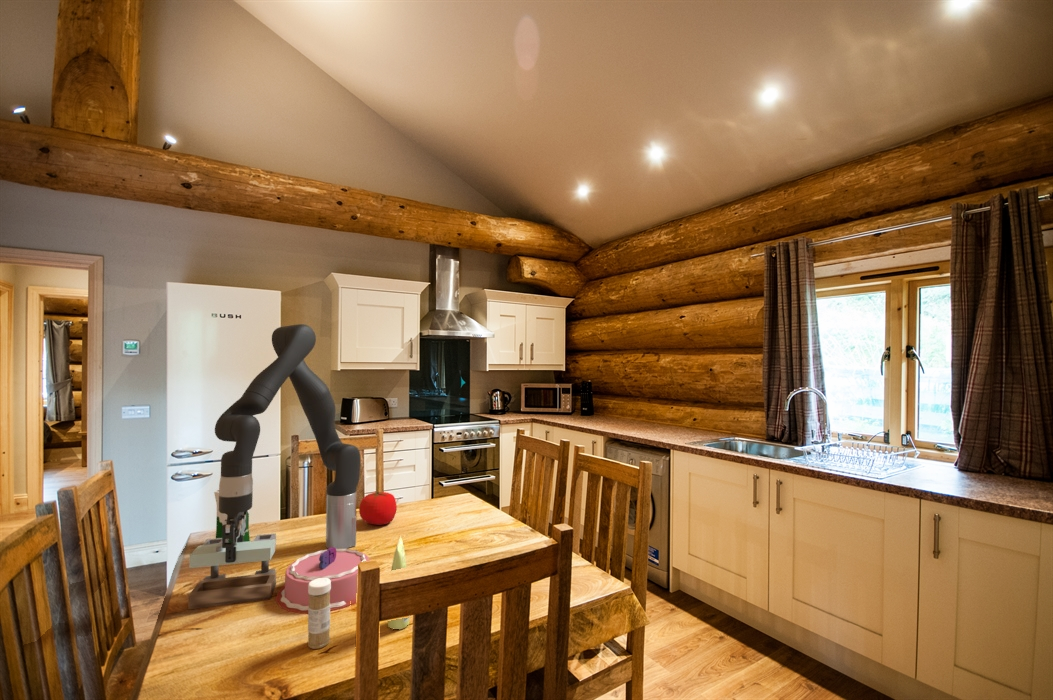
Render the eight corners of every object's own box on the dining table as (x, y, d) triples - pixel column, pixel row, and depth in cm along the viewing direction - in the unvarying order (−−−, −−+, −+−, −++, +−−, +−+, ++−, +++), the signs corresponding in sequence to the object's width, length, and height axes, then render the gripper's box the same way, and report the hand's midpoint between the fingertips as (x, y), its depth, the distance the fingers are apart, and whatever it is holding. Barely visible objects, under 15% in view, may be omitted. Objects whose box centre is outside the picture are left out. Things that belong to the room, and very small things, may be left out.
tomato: (402, 518, 186) (403, 488, 186) (384, 531, 173) (385, 498, 173) (372, 515, 189) (373, 485, 189) (352, 527, 176) (353, 495, 176)
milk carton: (231, 538, 165) (232, 479, 165) (254, 540, 163) (255, 480, 163) (209, 548, 156) (210, 485, 156) (233, 550, 154) (235, 487, 155)
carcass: (277, 581, 134) (278, 554, 134) (269, 599, 124) (270, 570, 124) (202, 589, 129) (203, 562, 129) (188, 609, 119) (188, 579, 119)
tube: (381, 624, 113) (382, 540, 114) (399, 615, 117) (401, 534, 117) (395, 633, 110) (397, 546, 110) (414, 624, 114) (415, 540, 114)
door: (278, 544, 135) (278, 529, 135) (270, 560, 125) (270, 544, 125) (204, 551, 130) (204, 536, 130) (189, 568, 120) (189, 551, 120)
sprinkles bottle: (324, 635, 109) (325, 575, 109) (333, 643, 106) (334, 581, 106) (303, 643, 105) (304, 581, 106) (312, 652, 102) (313, 588, 102)
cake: (313, 566, 144) (313, 530, 145) (392, 573, 141) (392, 536, 141) (253, 609, 120) (254, 566, 120) (347, 619, 116) (348, 574, 116)
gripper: (245, 498, 120) (243, 566, 120) (258, 483, 134) (257, 544, 133) (210, 500, 118) (208, 570, 117) (227, 485, 132) (226, 547, 131)
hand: (234, 556), depth 125 cm, fingers closed on door, 6 cm apart
